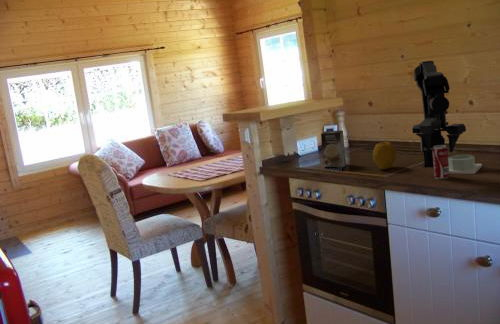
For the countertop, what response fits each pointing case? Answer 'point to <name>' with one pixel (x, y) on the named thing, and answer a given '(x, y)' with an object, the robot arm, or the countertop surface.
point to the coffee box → (333, 148)
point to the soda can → (440, 162)
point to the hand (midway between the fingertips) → (439, 151)
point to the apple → (384, 155)
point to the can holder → (463, 164)
